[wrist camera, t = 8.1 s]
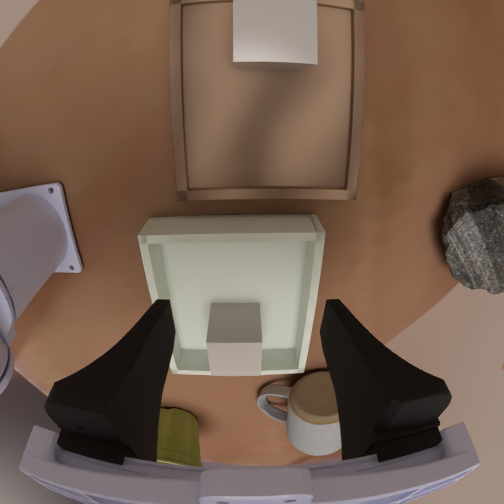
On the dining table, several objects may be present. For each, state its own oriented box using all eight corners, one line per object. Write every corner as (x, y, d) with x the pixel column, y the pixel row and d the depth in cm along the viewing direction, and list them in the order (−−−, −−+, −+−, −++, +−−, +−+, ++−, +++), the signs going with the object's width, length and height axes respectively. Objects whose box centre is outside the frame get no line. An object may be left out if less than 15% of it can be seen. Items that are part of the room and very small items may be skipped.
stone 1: (214, 336, 27) (210, 375, 23) (211, 302, 25) (205, 342, 21) (258, 336, 27) (261, 375, 23) (259, 302, 25) (262, 342, 21)
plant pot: (192, 437, 39) (188, 487, 31) (133, 417, 36) (122, 468, 28) (222, 415, 35) (220, 474, 27) (154, 391, 32) (141, 453, 25)
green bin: (177, 350, 28) (172, 373, 26) (149, 217, 21) (137, 235, 19) (299, 348, 28) (303, 372, 26) (315, 214, 21) (325, 232, 19)
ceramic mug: (350, 360, 30) (367, 420, 23) (344, 399, 34) (355, 450, 27) (252, 373, 30) (253, 436, 24) (261, 410, 34) (262, 463, 28)
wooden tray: (180, 196, 20) (177, 201, 20) (173, 0, 14) (169, -4, 13) (350, 195, 21) (355, 200, 20) (358, 5, 14) (363, 2, 13)
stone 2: (236, 69, 16) (233, 61, 12) (235, 12, 14) (233, -10, 10) (301, 70, 16) (317, 64, 12) (300, 14, 14) (316, -6, 10)
